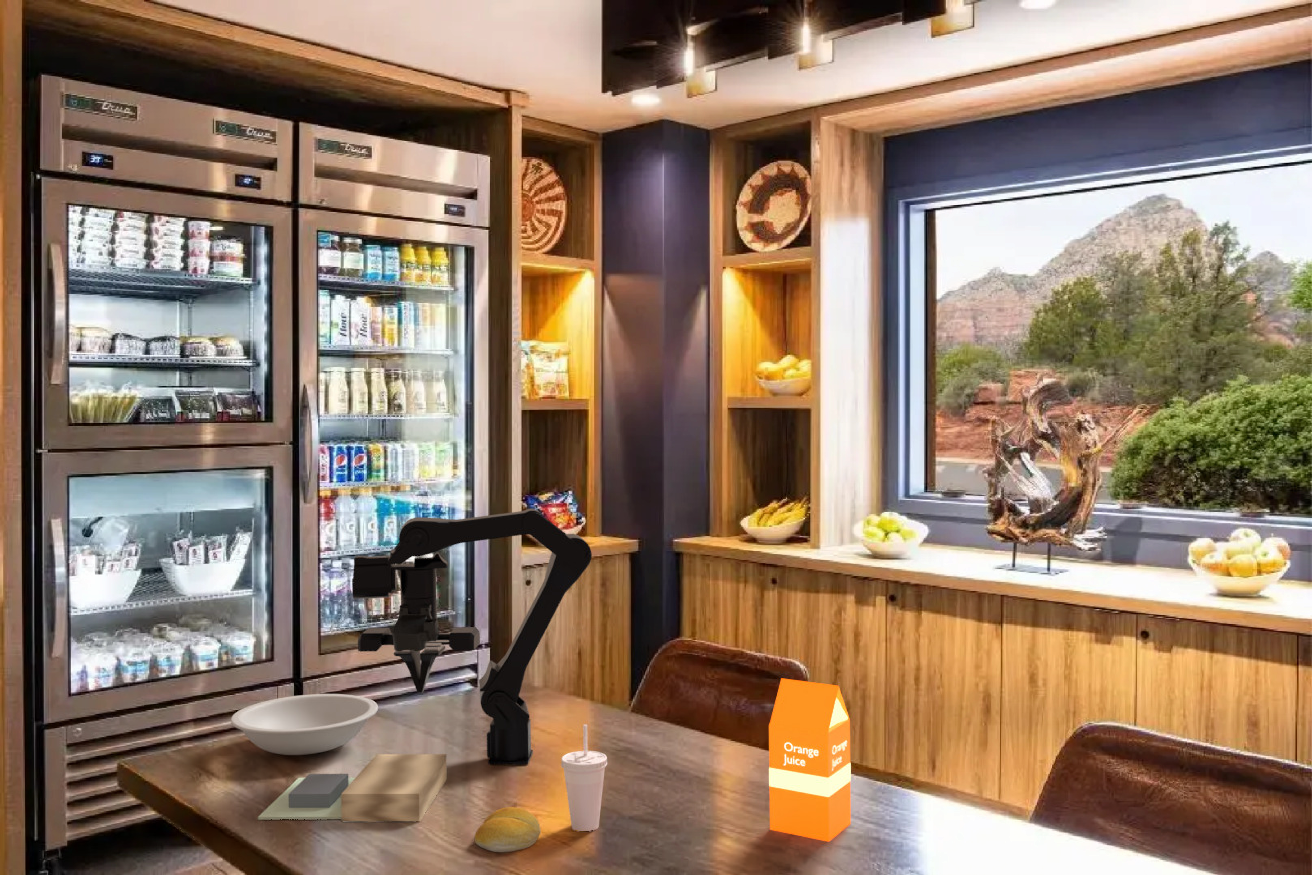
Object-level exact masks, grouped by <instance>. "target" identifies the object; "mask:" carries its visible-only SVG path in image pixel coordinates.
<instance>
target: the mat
mask: <svg viewBox="0 0 1312 875" xmlns="http://www.w3.org/2000/svg"><path fill="white" fill-rule="evenodd" d="M356 777H357V776H355V777H351V776H350V777H349V776H348V783H349V785H350V784H351V782H352V781H353V780H354V779H355V778H356ZM305 778H306V777H298V778H297V779H296V780H295V781H294V782H293V783H292V784H291V785H289V786H288V788H286V789H285V791H283V792H282V794H280V795H279V796H278V797H277V798H276V799H275V800H274V801H273V802H272V803H271V804H269V805H268V806H267V808H265V809H264V810H263V811H262V813H260V814H259V815H257V820H258V821H259V820H260V821H263V820H264V821H265V820H267V821H269V820H271V819H272V821H273V820H275V821H276V820H280V819H281V820H280V821H283V820H282V819H289V821H291V820H292V819H294V820H293V821H295V819H296V820H297V819H298V820H297V821H299V820H302V821H303V820H304V819H305V820H310V821H311V820H317V819H318V820H320V819H321V820H323V821H324V820H327V819H342V807H341V796H340V797H339V798H338V799H337V800H336V801H335V802H334V803H333V805H332V806H331V807H330V808H289V793H290V792H291V791H292V790H293V789H294V788H295V787H296V786H297V785H298V784H299V783H300V782H301V781H303V780H304V779H305ZM290 819H291V820H290ZM318 820H317V821H318ZM321 820H320V821H321Z"/></svg>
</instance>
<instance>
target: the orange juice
mask: <svg viewBox="0 0 1312 875" xmlns="http://www.w3.org/2000/svg"><path fill="white" fill-rule="evenodd" d="M769 721H770V722H769V724H768V757H769V758H768V762H769V764H768V765H769V767H768V787H769V831H775V832H780V833H784V834H785V833H786V834H789V835H793V836H794V835H795V836H799V837H804V838H808V839H813V840H819V841H822V842H831V841H832V840H833V839H835V837H837V836H838V835H839V834H840V833H841V832H842V831H843V832H844V830H845V829H846V828H848V827H849V826H850V825H851V824H852V823H851V822H852V818H851V815H852V814H851V813H852V812H851V810H852V808H851V804H852V802H851V781H852V778H851V777H852V772H851V770H852V768H851V767H852V765H851V719H850V717H849V713H848V710H847V707H846V705H845V701H844V698H843V695H842V693H841V689H840V686H839V685H835V684H829V683H828V684H827V683H821V682H820V683H819V682H811V681H804V680H797V679H790V678H789V679H788V678H780V682H779V686H778V690H777V695H776V698H775V701H774V704H773V710H772V713H771V717H770V720H769Z"/></svg>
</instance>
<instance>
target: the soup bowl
mask: <svg viewBox="0 0 1312 875" xmlns="http://www.w3.org/2000/svg"><path fill="white" fill-rule="evenodd" d="M378 710H379V706H378V703H377V702H375V701H374V700H372V699H371V698H367V697H363V696H358V695H352V694H341V693H316V694H315V693H314V694H302V695H293V696H285V697H279V698H274V699H269V700H266V701H265V700H263V701H261V702H258V703H254V704H251V705H248V706H246V707H244V708H241V709H239V710H238V711H237V712H236V711H235V713H233V714H232V716H231V718H230V723H231V724H232V726H233V727H234V728H236V729H237V730H241V731H242V732H243V734H244V735H245V737H246V738H247V739H248V740H249V741H250V742H251V743H253V745H255V746H256V747H258V748H260V749H261V750H263V751H266V752H269V753H273V754H277V755H283V756H302V755H313V754H319V753H323V752H327V751H328V752H329V751H331V750H334V749H337V748H339V747H341V746H343V745H346V743H349V742H350V741H352V739H354V738H355V737H356V736H357V735H358V734H359V733H360V732H361V731H362V729H363V728H364V727H365V726H366V723H367V721H368V720H369V719H370V718H371V717H373V716H374V715H375V714H376V713H378Z"/></svg>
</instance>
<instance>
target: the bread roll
mask: <svg viewBox="0 0 1312 875" xmlns="http://www.w3.org/2000/svg"><path fill="white" fill-rule="evenodd" d="M541 831H542V830H541V826H540V823H539V820H538V819H537V818H536V816H535V815H534V814H533V813H531V812H530V811H528V810H527V809H525V808H522V807H516V806H514V807H513V806H505V807H502V808H499V809H497V810H495V811H494V812H492V813H490V814H489V815H488V816H487V817H486V818H485V819H484V821H483V823H482V824H481V825H480V826H479V827H478V828H477V830H476V832H475V834H474V842H475V844H476V845H477V846H478V847H480V848H482V849H484V850H487V851H489V852H494V853H509V852H510V853H511V852H514V851H515V852H516V851H520V850H524V849H527V848H529V847H531V846H533V845H535V843H536V842H537V840H538V839H539V837H540V835H541Z"/></svg>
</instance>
